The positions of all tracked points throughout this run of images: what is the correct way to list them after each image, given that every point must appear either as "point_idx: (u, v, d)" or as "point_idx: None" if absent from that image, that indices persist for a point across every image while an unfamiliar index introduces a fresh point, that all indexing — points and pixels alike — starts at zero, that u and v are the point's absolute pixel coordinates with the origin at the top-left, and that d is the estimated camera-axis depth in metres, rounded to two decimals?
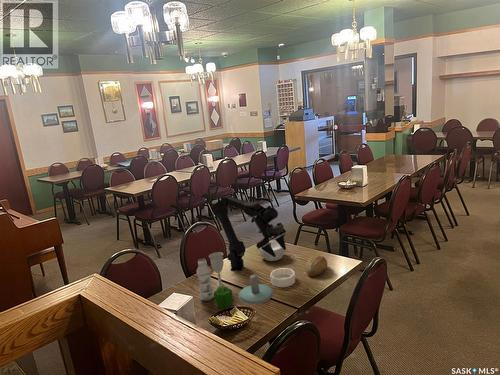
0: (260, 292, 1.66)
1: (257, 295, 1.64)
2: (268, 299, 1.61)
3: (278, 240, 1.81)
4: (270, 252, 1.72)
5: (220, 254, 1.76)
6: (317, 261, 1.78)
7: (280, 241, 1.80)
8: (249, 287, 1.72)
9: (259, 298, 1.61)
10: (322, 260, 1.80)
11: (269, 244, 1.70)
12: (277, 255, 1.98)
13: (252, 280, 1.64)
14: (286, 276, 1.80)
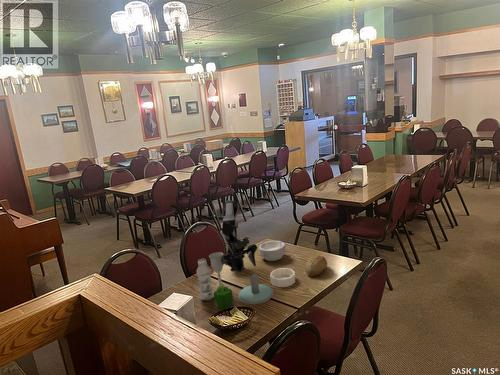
0: (260, 292, 1.66)
1: (257, 295, 1.64)
2: (268, 299, 1.61)
3: (249, 257, 1.75)
4: (234, 268, 1.68)
5: (220, 254, 1.76)
6: (317, 261, 1.78)
7: (251, 257, 1.74)
8: (249, 287, 1.72)
9: (259, 298, 1.61)
10: (322, 260, 1.80)
11: (231, 259, 1.67)
12: (277, 255, 1.98)
13: (252, 280, 1.64)
14: (286, 276, 1.80)
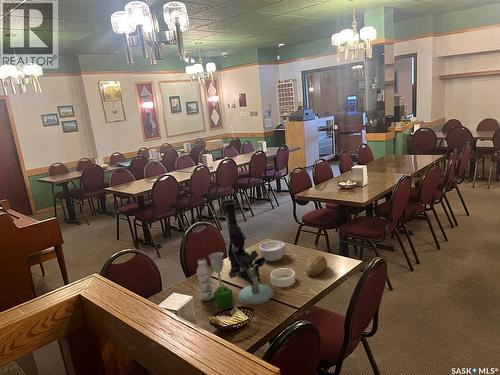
0: (260, 292, 1.66)
1: (257, 295, 1.64)
2: (268, 299, 1.61)
3: (253, 272, 1.70)
4: (247, 280, 1.65)
5: (220, 254, 1.76)
6: (317, 261, 1.78)
7: (255, 272, 1.68)
8: (249, 287, 1.72)
9: (259, 298, 1.61)
10: (322, 260, 1.80)
11: (244, 271, 1.64)
12: (277, 255, 1.98)
13: (252, 280, 1.64)
14: (286, 276, 1.80)
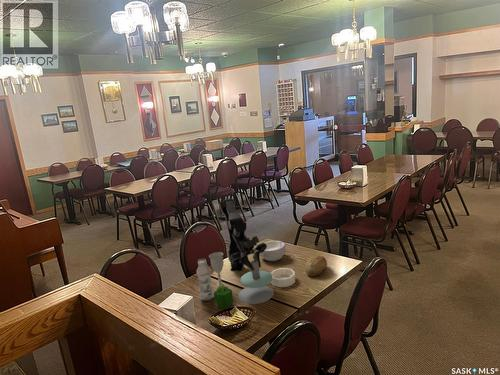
0: (261, 278, 1.66)
1: (258, 281, 1.63)
2: (268, 299, 1.61)
3: (254, 257, 1.69)
4: (248, 265, 1.64)
5: (220, 254, 1.76)
6: (317, 261, 1.78)
7: (255, 258, 1.68)
8: (250, 273, 1.72)
9: (260, 283, 1.61)
10: (322, 260, 1.80)
11: (245, 256, 1.63)
12: (277, 255, 1.98)
13: (253, 266, 1.64)
14: (286, 276, 1.80)
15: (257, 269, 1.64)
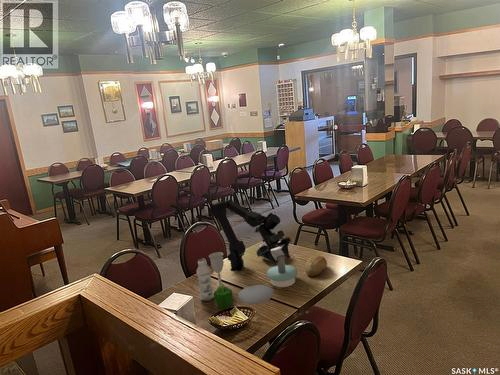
0: (286, 272, 1.75)
1: (284, 274, 1.72)
2: (268, 299, 1.61)
3: (282, 249, 1.79)
4: (271, 259, 1.72)
5: (220, 254, 1.76)
6: (317, 261, 1.79)
7: (284, 250, 1.78)
8: (275, 267, 1.81)
9: (286, 277, 1.70)
10: (322, 260, 1.80)
11: (268, 251, 1.71)
12: (277, 255, 1.98)
13: (279, 260, 1.73)
14: None
15: (283, 263, 1.73)
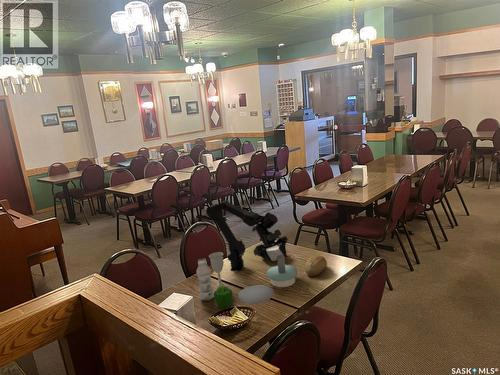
0: (286, 272, 1.75)
1: (284, 274, 1.72)
2: (268, 299, 1.61)
3: (280, 248, 1.81)
4: (267, 258, 1.74)
5: (220, 254, 1.76)
6: (316, 261, 1.79)
7: (282, 249, 1.80)
8: (275, 267, 1.81)
9: (286, 277, 1.70)
10: (322, 260, 1.80)
11: (264, 250, 1.73)
12: (277, 255, 1.98)
13: (279, 260, 1.73)
14: None
15: (283, 263, 1.73)
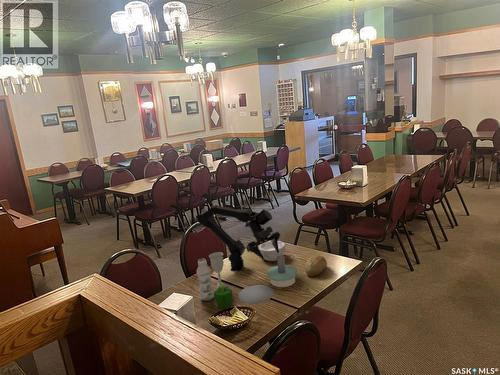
0: (286, 272, 1.75)
1: (284, 274, 1.72)
2: (268, 299, 1.61)
3: (273, 243, 1.86)
4: (258, 255, 1.80)
5: (220, 254, 1.76)
6: (316, 261, 1.79)
7: (274, 244, 1.85)
8: (275, 267, 1.81)
9: (286, 277, 1.70)
10: (321, 260, 1.80)
11: (256, 247, 1.79)
12: (277, 255, 1.98)
13: (279, 260, 1.73)
14: None
15: (283, 263, 1.73)
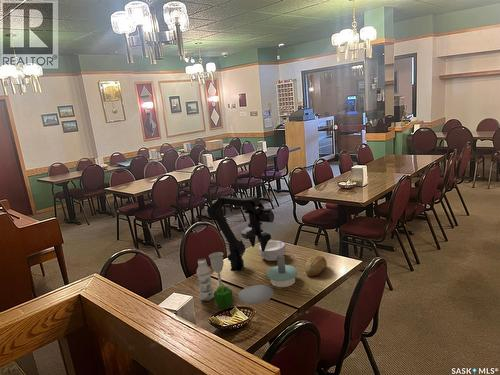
0: (286, 272, 1.75)
1: (284, 274, 1.72)
2: (268, 299, 1.61)
3: None
4: None
5: (220, 254, 1.76)
6: (316, 261, 1.79)
7: None
8: (275, 267, 1.81)
9: (286, 277, 1.70)
10: (321, 260, 1.80)
11: None
12: (277, 255, 1.98)
13: (279, 260, 1.73)
14: None
15: (283, 263, 1.73)
